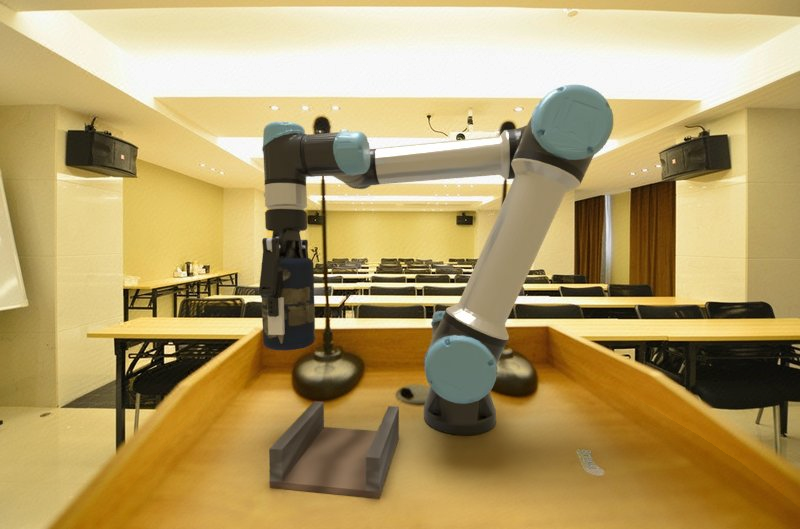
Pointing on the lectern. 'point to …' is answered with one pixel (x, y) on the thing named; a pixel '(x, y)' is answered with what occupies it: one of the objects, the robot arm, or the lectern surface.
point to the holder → (333, 455)
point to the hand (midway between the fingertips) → (289, 328)
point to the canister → (294, 306)
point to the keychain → (589, 463)
